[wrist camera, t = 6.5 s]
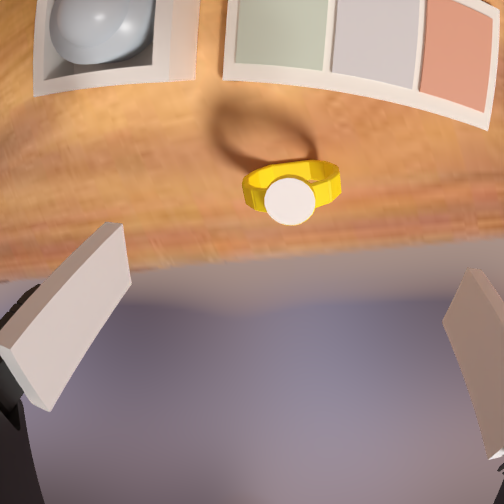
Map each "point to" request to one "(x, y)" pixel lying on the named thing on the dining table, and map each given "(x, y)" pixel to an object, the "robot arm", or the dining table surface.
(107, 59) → the dome
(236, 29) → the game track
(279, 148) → the dining table surface
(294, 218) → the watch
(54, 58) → the base
